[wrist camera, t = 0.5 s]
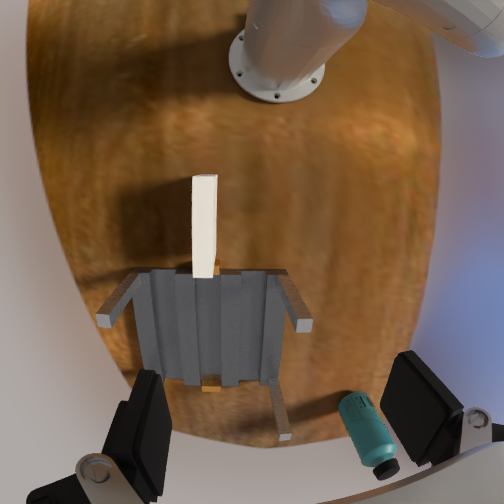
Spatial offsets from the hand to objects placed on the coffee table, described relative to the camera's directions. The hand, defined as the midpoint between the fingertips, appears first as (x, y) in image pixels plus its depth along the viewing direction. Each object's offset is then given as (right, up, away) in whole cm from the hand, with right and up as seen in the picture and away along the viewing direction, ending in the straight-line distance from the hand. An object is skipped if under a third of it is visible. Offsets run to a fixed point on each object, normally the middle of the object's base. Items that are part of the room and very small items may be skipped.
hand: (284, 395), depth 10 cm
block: (-7, +10, +27) cm, 30 cm away
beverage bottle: (+18, -23, +39) cm, 48 cm away
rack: (-7, -6, +32) cm, 33 cm away
